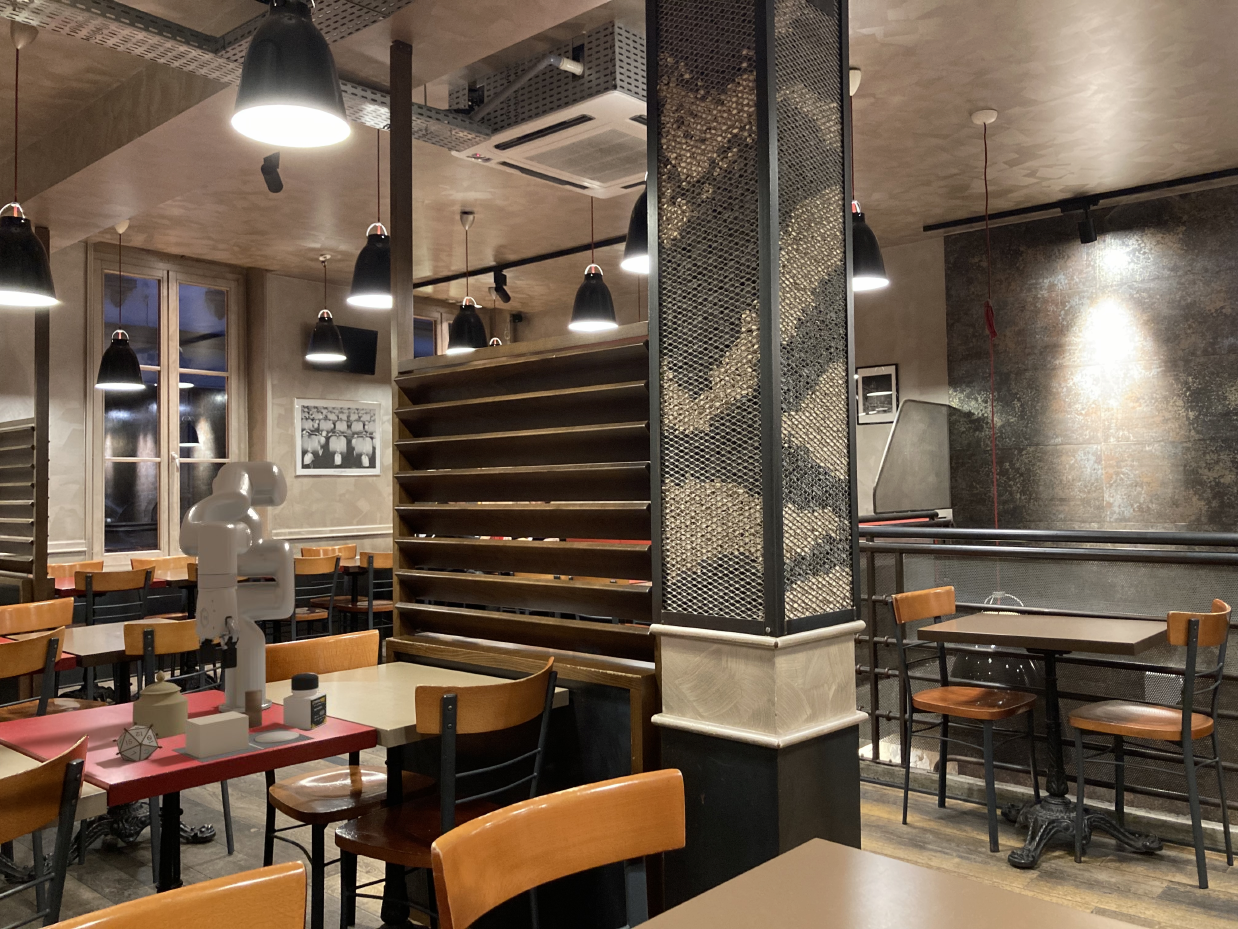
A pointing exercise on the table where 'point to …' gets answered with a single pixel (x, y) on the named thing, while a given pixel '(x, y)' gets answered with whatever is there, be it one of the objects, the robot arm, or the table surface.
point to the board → (257, 743)
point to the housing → (216, 734)
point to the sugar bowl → (162, 708)
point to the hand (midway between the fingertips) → (217, 665)
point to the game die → (137, 743)
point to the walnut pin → (254, 707)
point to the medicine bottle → (305, 703)
